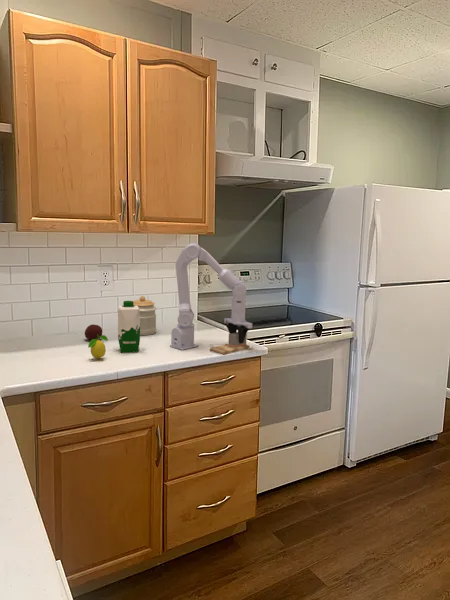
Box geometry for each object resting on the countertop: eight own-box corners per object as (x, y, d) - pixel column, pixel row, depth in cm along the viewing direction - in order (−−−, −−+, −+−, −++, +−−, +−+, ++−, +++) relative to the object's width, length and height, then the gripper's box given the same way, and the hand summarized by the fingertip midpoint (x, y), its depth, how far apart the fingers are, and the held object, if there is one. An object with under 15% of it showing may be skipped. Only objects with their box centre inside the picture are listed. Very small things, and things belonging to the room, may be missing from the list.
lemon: (108, 356, 182) (108, 331, 181) (106, 361, 177) (106, 335, 175) (90, 357, 181) (90, 331, 180) (88, 361, 176) (87, 335, 174)
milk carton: (138, 347, 198) (138, 300, 195) (140, 352, 189) (140, 304, 186) (117, 347, 196) (117, 300, 192) (118, 353, 187) (118, 304, 184)
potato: (105, 340, 207) (105, 325, 206) (88, 343, 202) (88, 327, 201) (98, 337, 212) (98, 322, 211) (81, 339, 208) (81, 324, 207)
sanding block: (235, 347, 198) (235, 335, 197) (228, 345, 200) (228, 333, 200) (246, 344, 203) (246, 333, 202) (239, 342, 205) (239, 331, 205)
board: (223, 354, 190) (223, 351, 190) (210, 350, 195) (210, 348, 195) (249, 348, 201) (249, 345, 201) (235, 344, 207) (236, 341, 207)
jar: (144, 337, 215) (144, 299, 212) (122, 333, 221) (122, 296, 219) (161, 332, 226) (162, 296, 223) (140, 328, 233) (140, 293, 230)
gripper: (257, 312, 197) (256, 343, 199) (232, 307, 207) (231, 337, 209) (246, 314, 192) (245, 346, 194) (221, 309, 202) (220, 339, 204)
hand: (237, 341), depth 201 cm, fingers closed on sanding block, 4 cm apart
